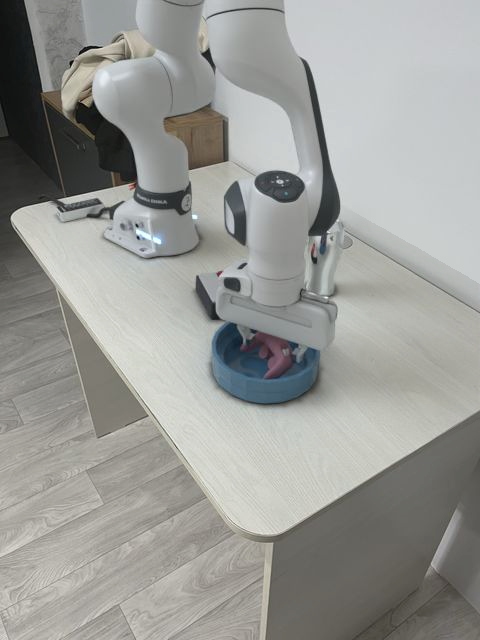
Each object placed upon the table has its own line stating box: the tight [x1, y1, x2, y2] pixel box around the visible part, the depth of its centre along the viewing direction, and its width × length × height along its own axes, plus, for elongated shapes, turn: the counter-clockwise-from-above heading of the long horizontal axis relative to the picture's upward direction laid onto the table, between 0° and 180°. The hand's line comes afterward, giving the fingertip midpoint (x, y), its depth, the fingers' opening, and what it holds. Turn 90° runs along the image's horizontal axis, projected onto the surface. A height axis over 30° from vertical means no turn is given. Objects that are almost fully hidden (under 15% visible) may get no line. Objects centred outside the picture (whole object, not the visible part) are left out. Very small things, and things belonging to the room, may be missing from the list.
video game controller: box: [240, 331, 295, 380], centre depth 93 cm, size 10×5×7 cm
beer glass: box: [305, 218, 346, 297], centre depth 110 cm, size 7×7×15 cm
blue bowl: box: [211, 321, 321, 404], centre depth 93 cm, size 18×18×5 cm
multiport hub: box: [55, 197, 106, 223], centre depth 135 cm, size 4×11×2 cm, turn 124°
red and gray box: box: [195, 270, 224, 320], centre depth 109 cm, size 11×4×15 cm
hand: (272, 351), depth 92 cm, fingers closed on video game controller, 8 cm apart
